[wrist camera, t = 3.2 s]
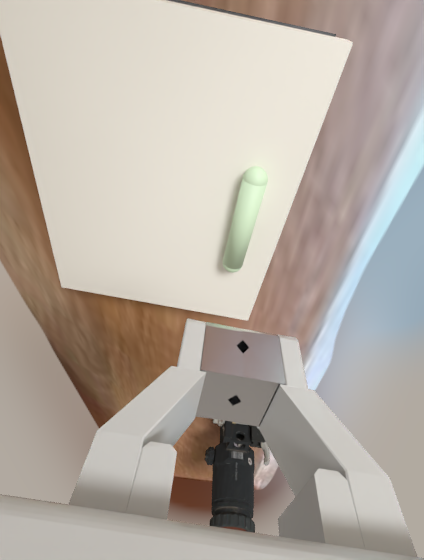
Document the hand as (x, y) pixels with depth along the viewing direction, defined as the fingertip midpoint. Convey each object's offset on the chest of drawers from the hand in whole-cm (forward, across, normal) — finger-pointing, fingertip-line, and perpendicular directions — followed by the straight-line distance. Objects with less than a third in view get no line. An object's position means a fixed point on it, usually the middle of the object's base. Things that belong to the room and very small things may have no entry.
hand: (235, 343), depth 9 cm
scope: (+21, -8, +38) cm, 44 cm away
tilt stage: (+16, +5, +3) cm, 17 cm away
